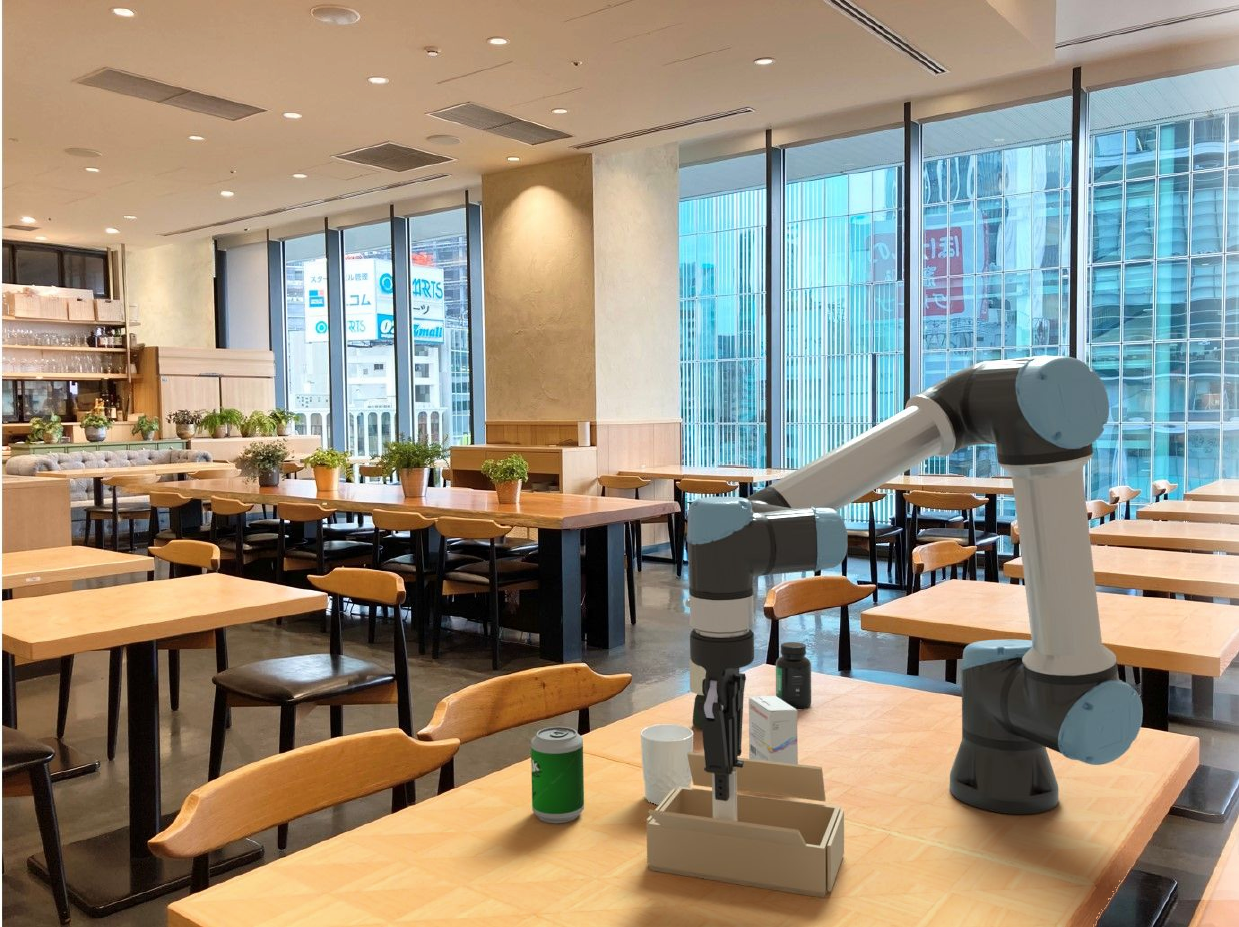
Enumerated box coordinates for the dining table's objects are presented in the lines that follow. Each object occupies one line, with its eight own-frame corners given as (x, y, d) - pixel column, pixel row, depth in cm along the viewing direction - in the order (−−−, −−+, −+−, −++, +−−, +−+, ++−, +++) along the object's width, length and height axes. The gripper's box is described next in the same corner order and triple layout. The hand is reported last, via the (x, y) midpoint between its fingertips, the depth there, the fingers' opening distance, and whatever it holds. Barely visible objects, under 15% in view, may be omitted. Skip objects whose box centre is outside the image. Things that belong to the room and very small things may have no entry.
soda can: (593, 809, 144) (591, 728, 143) (569, 829, 137) (567, 744, 137) (548, 801, 147) (546, 722, 147) (522, 820, 140) (520, 737, 140)
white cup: (678, 812, 142) (677, 744, 142) (631, 801, 147) (630, 735, 146) (703, 794, 149) (702, 729, 149) (658, 784, 153) (657, 721, 153)
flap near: (806, 843, 117) (798, 829, 112) (806, 847, 116) (798, 833, 112) (661, 823, 123) (649, 809, 118) (661, 826, 123) (648, 812, 118)
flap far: (825, 799, 130) (821, 767, 127) (825, 801, 130) (821, 769, 127) (694, 782, 136) (687, 751, 133) (693, 785, 136) (687, 754, 133)
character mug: (742, 732, 177) (741, 661, 177) (708, 738, 174) (707, 666, 174) (710, 716, 187) (710, 648, 186) (678, 721, 184) (677, 652, 183)
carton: (845, 852, 129) (845, 807, 128) (829, 898, 117) (829, 849, 116) (675, 828, 137) (675, 785, 137) (644, 869, 125) (643, 822, 125)
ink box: (799, 783, 153) (799, 708, 152) (770, 787, 152) (769, 711, 151) (775, 764, 161) (775, 693, 161) (747, 768, 160) (747, 696, 159)
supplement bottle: (775, 709, 190) (775, 648, 190) (776, 699, 197) (775, 640, 197) (811, 711, 189) (811, 649, 189) (810, 700, 196) (810, 641, 195)
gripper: (706, 614, 123) (709, 796, 125) (674, 640, 111) (678, 841, 114) (765, 618, 121) (767, 804, 123) (739, 645, 109) (742, 851, 111)
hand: (725, 822), depth 118 cm, fingers closed
